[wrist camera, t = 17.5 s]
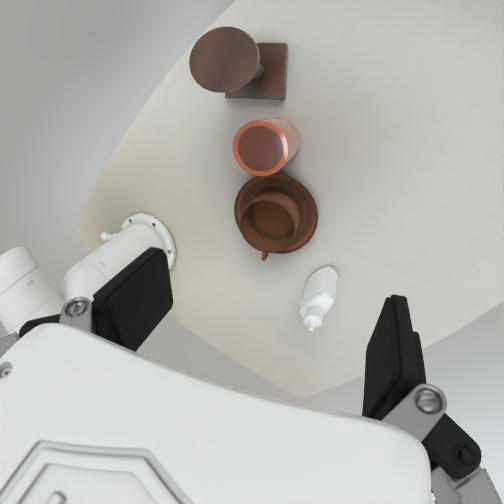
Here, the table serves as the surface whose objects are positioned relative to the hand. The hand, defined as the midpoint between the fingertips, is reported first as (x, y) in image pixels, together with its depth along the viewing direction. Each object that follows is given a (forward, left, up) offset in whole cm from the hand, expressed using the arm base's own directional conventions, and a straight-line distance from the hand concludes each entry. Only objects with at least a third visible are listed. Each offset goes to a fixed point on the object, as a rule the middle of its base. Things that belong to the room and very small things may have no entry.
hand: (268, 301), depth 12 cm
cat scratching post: (-10, +12, -30) cm, 34 cm away
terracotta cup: (-7, +2, -30) cm, 31 cm away
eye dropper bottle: (+2, -18, -31) cm, 35 cm away
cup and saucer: (-6, -8, -31) cm, 32 cm away
